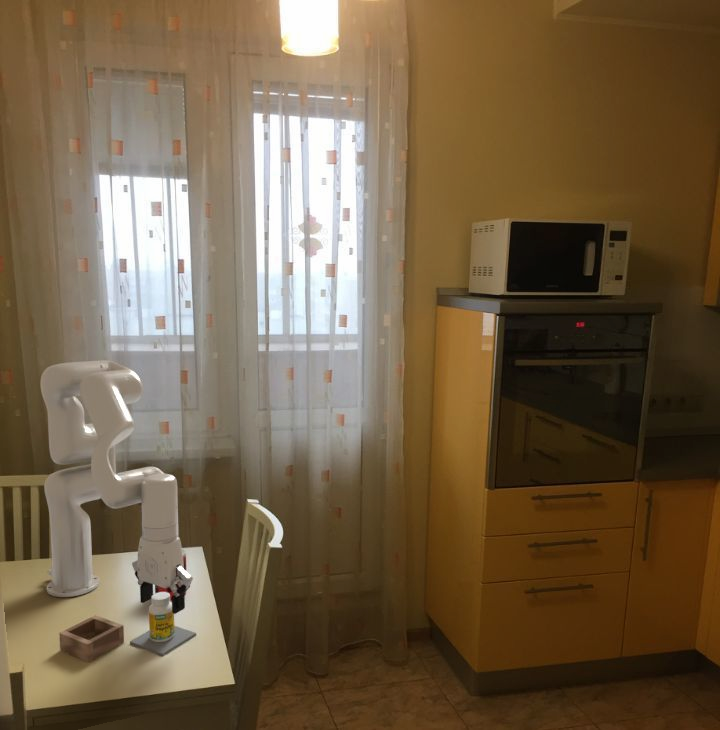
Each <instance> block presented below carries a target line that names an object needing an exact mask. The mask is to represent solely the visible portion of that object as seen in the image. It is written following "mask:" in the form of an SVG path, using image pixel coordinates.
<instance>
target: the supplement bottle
mask: <svg viewBox="0 0 720 730" xmlns="http://www.w3.org/2000/svg"><path fill="white" fill-rule="evenodd" d="M150 603H151V605H149V607H148V624H149V626H148V627H149V628H148V629H149V630H150V639H151V640H152V641H154V642H165V641H168V640H170V639H171V638H172V637H173V636H174V634H175V627H174V626H175V614H174V613H172V601H171V600H170V594H169V593H167V592H159V593H155V592H154V593H153V595H152V597H151V600H150Z"/></svg>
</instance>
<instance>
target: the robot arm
mask: <svg viewBox="0 0 720 730" xmlns="http://www.w3.org/2000/svg"><path fill="white" fill-rule="evenodd" d="M40 391H41V396H42V398H43V401H44V403H45V407H46V411H47V422H48V423H47V425H48V426H47V428H48V430H47V431H48V447H49V455H50V459H51V460H52V461H53V462H54V463H55V464H57V465H62V466H63V465H64V466H65V465H72V464H77V463H83V462H87V461H88V462H89V461H91V462H90V463H89V464H84V465H79V466H73V467H69V468H65V469H61V470H59V469H58V470H56V471H55V472H53V473H51V474H50V475H49V476H47V478H46V479H45V481H44V486H43V487H44V495H45V498H46V503H47V507H48V512H49V513H48V514H49V524H50V542H51V543H50V544H51V548H50V549H51V562H52V563H51V565H52V566H51V569H50V568H49V569H47V570H46V575H49V576H50V577H51V580H50V582H49V583H48V584H47V586H46V592H47V594H48V595H50V596H51V597H56V598H71V597H76V596H81V595H85V594H87V593H90V592H92V591H94V590H95V589H96V588H97V587H98V586H99V585H100V577H99V576H98V575H96V574H93V557H92V555H93V553H92V529H91V528H92V526H91V525H92V524H91V519H90V516H89V514H88V513H87V512H86V511H85V510H84V509H83V508H82V507H81V505H82V504H85V503H89V502H91V501H96V500H100V499H101V500H102V501H103V503H104V504H105V505H106V506H107V507H108V508H111V509H121V508H126V507H128V506H132V505H137V504H140V503H141V531H142V532H141V533H142V535H141V536H140V539H139V543H138V548H137V560H134V561H133V562H132V563H131V565H132V567H133V568H132V569H133V571H134V576H135V577H136V579H137V584H138V586H139V597H140V598H139V599H140V603H142V604H145V603H147V602H148V601H151V597H152V595H154V586H155V585H157V586H160V587H164V588H168V587H170V588H171V590H172V592H173V594H174V595H173V596H172V600H171V602H172V613H174V615H176V614H178V613H179V612H182V611H183V610H184V609H185V608H186V599H185V598H186V597H185V596H186V594H185V592H186V593H187V591H188V590H189V589H190V588H191V584H192V582H193V580H194V578H193V575H192V574H190V573H189V572H188V571H187V570H186V571H185V570H184V564H183V553H182V549H183V548H182V542H181V538H180V537H179V512H178V511H179V509H178V508H179V505H178V481H177V478H176V477H175V476H174V475H173V474H168V473H165V472H164V471H162V470H161V469H160V468H158V467H155V466H145V467H140V468H136V469H135V468H134V469H131V470H126V471H122V472H117V469H116V468H117V466H116V465H117V464H116V460H117V459H116V457H117V456H116V445H118V444H119V443H120V442H122V441H124V440H126V439H127V438H128V437H129V436H130V435H131V434H132V433H133V432H134V430H135V427H136V425H135V422H134V419H133V417H132V414H131V413H130V411H129V408H128V406H127V405H128V404H134V403H137V402H138V401H140V399H142V397H143V393H144V392H143V391H144V387H143V383H142V381H141V379H140V377H139V375H138V374H137V373H136V372H135V370H132V369H130V368H129V367H126V366H124V365H121V364H119V363H117V362H114V361H112V360H107V359H105V360H103V359H102V360H91V361H90V360H87V361H72V362H64V363H63V362H62V363H58V364H57V363H56V364H53V365H51V366H47V367H46V368H45V369H44V371H43V372H42V374H41V377H40ZM77 397H80V398H81V400H82V402H83V405H84V406H83V405H82V403H81V401H80V400H79V398H77ZM84 407H85V409H86V412H87V414H88V417H89V419H90V422H91V423H86V422H85V409H84ZM174 580H175V581H174ZM182 580H183V581H182ZM175 584H178V586H179V588H178V589H177V587H176V586H175Z"/></svg>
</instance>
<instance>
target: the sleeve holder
mask: <svg viewBox="0 0 720 730" xmlns="http://www.w3.org/2000/svg"><path fill="white" fill-rule="evenodd" d="M124 627H125V626H124V625H123V624H120V623H118V622H115V621H112V620H110V619H107V618H105V617H103V616H99V615H97V614H96V615H93V616H91V617H89V618H87V619H85V620H83V621H81V622H79V623H76V624H75V625H72V626H70V627H69V628H67V629H65V630H62V631H61V632H59V633H58V634H59V651H60V650H61V652H62V651H63V652H62V653H65V654H67V653H68V654H67V655H69V656H72V657H74V658H76V657H77V659H79V660H81V661H84V662H86V663H88V662H89V663H91V662H92V661H94V660H96V659H98V658H100V657H101V656H103V655H105V654H106V653H108V652H111V651H112V650H113V649H115V648H118V647H119V646H121V645H122V644H124V643H125V631H124ZM90 661H91V662H90Z"/></svg>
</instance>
